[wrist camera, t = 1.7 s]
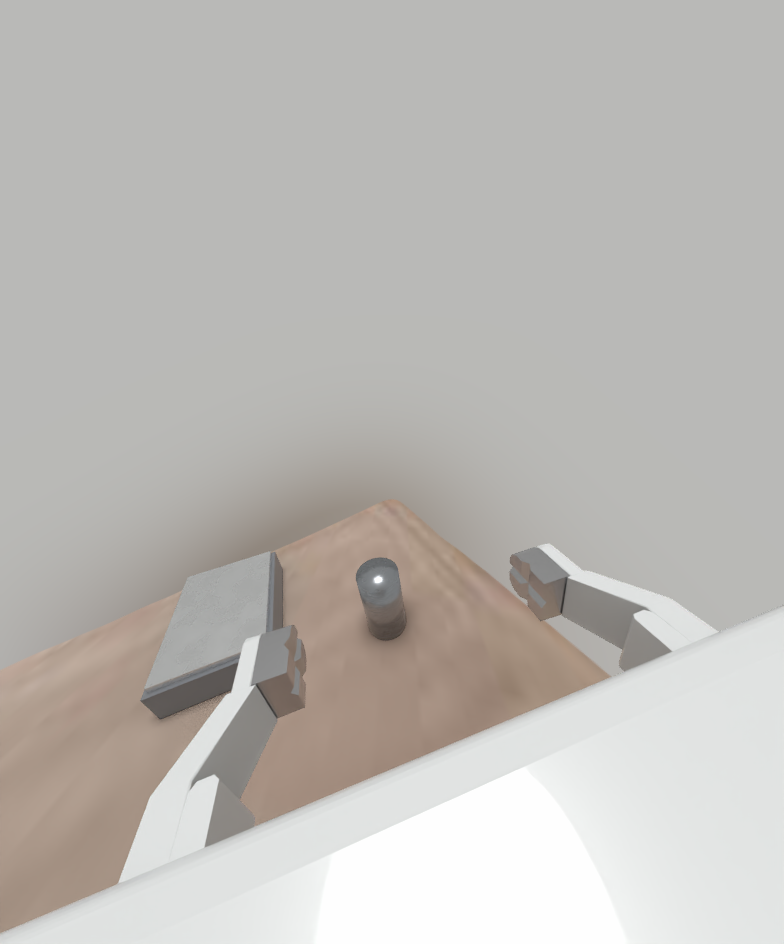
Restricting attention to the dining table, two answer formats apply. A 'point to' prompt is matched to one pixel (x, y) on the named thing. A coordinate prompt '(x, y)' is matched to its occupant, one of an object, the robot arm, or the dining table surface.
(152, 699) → the kitchen scale
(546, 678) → the dining table surface
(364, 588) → the cylinder
